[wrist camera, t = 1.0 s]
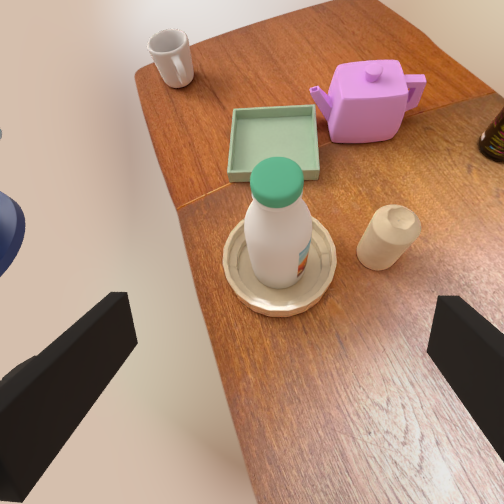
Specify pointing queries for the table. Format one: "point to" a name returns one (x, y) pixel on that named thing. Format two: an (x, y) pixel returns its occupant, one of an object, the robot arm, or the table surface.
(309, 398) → the table surface
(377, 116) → the teapot
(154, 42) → the cup
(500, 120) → the supplement container
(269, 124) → the tray
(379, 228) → the candle
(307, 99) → the table surface
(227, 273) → the bowl
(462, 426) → the table surface
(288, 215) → the milk bottle
